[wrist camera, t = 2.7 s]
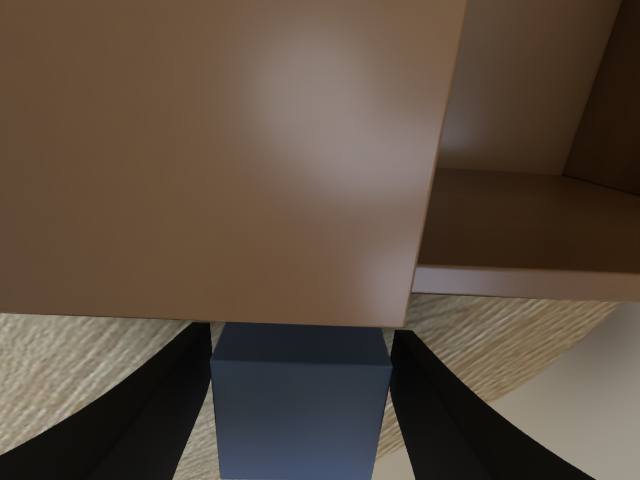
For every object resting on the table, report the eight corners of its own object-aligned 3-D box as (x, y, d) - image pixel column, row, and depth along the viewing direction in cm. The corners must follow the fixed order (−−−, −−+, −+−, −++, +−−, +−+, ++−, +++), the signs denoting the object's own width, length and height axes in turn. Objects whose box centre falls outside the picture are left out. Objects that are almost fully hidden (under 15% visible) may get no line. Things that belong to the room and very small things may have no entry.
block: (366, 277, 12) (394, 367, 8) (353, 369, 14) (371, 483, 10) (245, 271, 12) (208, 360, 8) (248, 365, 14) (219, 480, 9)
